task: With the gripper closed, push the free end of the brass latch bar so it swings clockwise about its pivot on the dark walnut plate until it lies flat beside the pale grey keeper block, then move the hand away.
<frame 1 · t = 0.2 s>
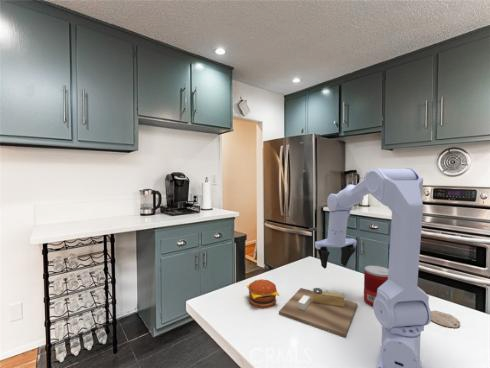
hand: (333, 265, 86), 10 cm above the countertop, tool pointing down, fingers open, 7 cm apart
latch bar: (328, 297, 79), point 3 cm above the countertop, hinge at 0.0°
keeper: (304, 309, 78), resting on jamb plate
hamburger: (262, 301, 82), on the countertop
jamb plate: (319, 310, 77), on the countertop
canned food: (377, 303, 81), on the countertop
flatbread: (443, 321, 72), on the countertop
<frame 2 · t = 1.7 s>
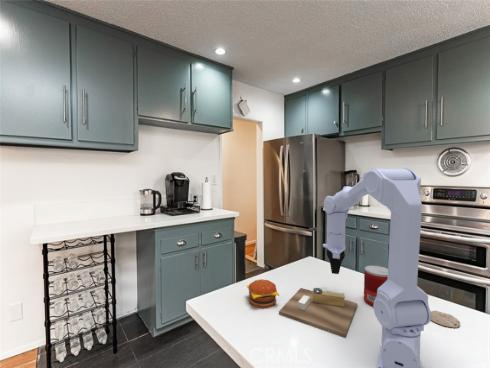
hand: (335, 272, 82), 9 cm above the countertop, tool pointing down, fingers closed
nothing on the countertop moved.
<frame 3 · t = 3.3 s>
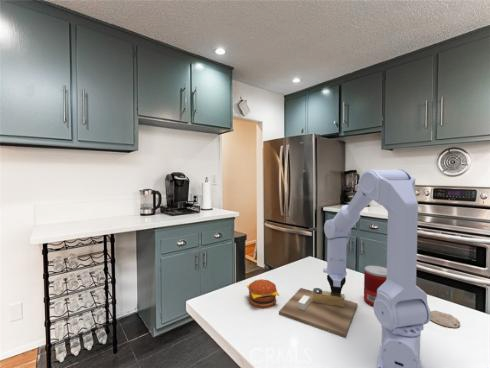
hand: (335, 298, 80), 2 cm above the countertop, tool pointing down, fingers closed, pressing on latch bar
latch bar: (328, 297, 79), point 3 cm above the countertop, hinge at -1.2°, touching gripper
everything else where it was.
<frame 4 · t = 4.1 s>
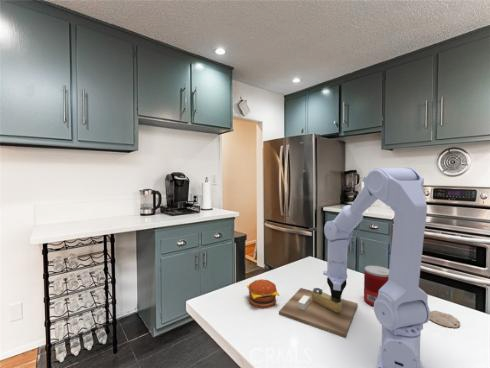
hand: (335, 302, 77), 2 cm above the countertop, tool pointing down, fingers closed, pressing on latch bar
latch bar: (326, 299, 77), point 3 cm above the countertop, hinge at -35.6°, touching gripper
everything else where it was.
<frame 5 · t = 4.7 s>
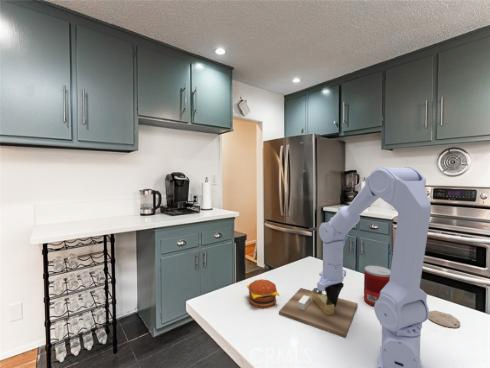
hand: (332, 305, 75), 2 cm above the countertop, tool pointing down, fingers closed, pressing on latch bar
latch bar: (322, 300, 77), point 3 cm above the countertop, hinge at -61.3°, touching gripper
everything else where it was.
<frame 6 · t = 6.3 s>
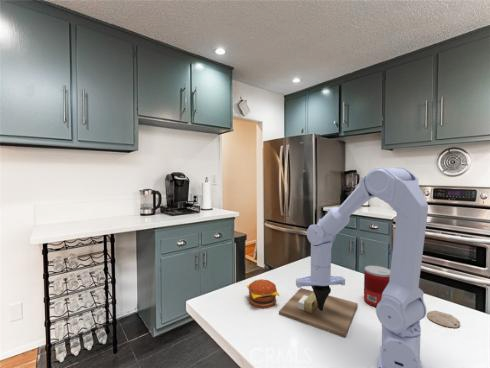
hand: (320, 308, 74), 2 cm above the countertop, tool pointing down, fingers closed
latch bar: (313, 299, 77), point 3 cm above the countertop, hinge at -108.3°, touching gripper
everything else where it was.
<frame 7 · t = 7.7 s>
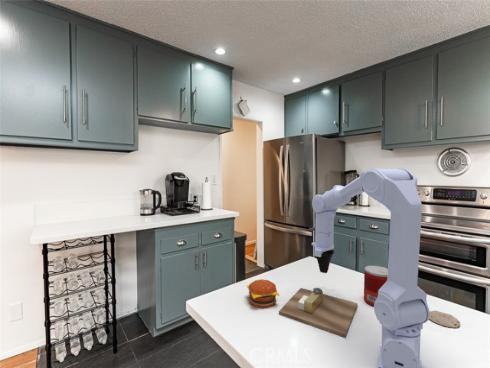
hand: (323, 272, 82), 10 cm above the countertop, tool pointing down, fingers closed
latch bar: (313, 299, 77), point 3 cm above the countertop, hinge at -108.3°
everything else where it was.
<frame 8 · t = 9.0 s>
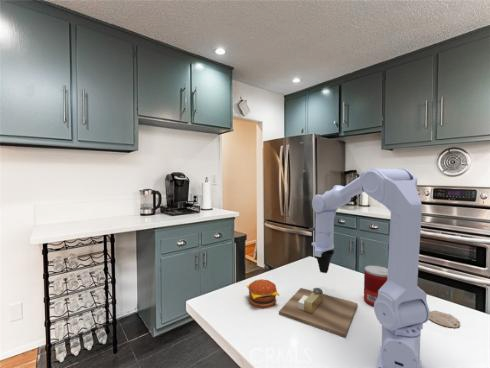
hand: (323, 272, 82), 10 cm above the countertop, tool pointing down, fingers closed
nothing on the countertop moved.
at the end: latch bar at -108° (first picture: +0°) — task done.
